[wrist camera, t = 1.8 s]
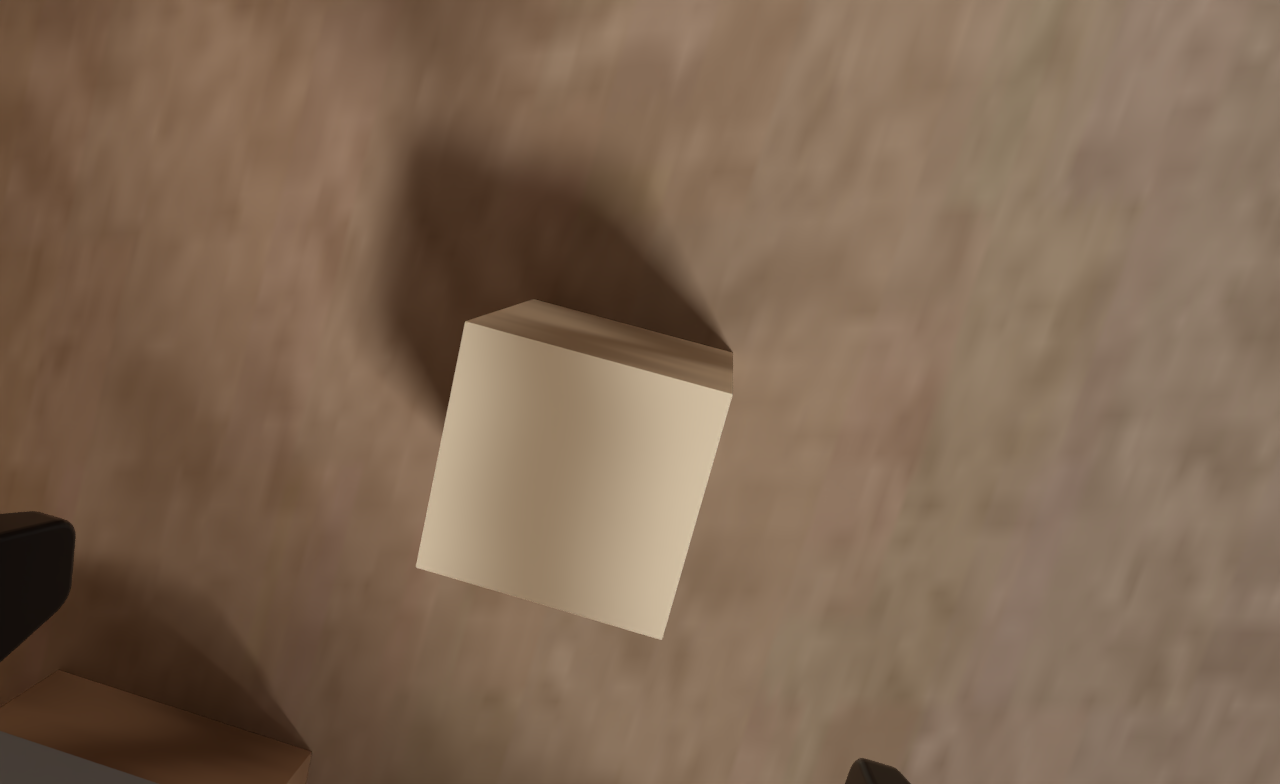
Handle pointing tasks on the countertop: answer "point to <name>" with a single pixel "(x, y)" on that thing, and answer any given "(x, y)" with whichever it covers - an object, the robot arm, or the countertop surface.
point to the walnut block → (147, 736)
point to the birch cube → (575, 462)
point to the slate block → (53, 766)
